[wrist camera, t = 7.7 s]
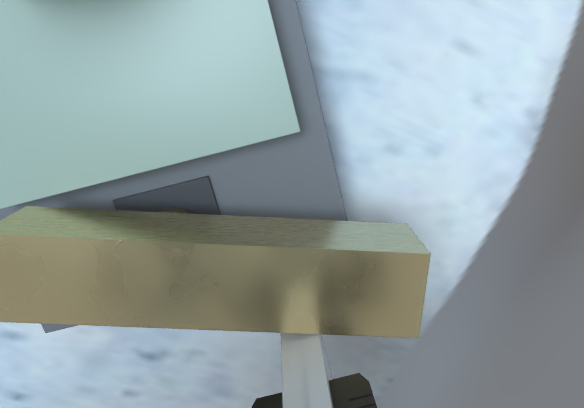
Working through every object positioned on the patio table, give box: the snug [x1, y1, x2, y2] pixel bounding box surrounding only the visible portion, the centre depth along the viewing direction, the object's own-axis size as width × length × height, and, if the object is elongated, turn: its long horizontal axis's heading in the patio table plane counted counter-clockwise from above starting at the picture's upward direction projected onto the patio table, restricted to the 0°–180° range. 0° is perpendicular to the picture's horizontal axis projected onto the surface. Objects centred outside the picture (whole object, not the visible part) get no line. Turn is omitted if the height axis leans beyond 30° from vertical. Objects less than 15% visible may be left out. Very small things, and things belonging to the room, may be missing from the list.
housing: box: [0, 0, 347, 333], centre depth 20 cm, size 14×20×3 cm
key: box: [0, 206, 431, 338], centre depth 18 cm, size 3×14×5 cm, turn 87°
